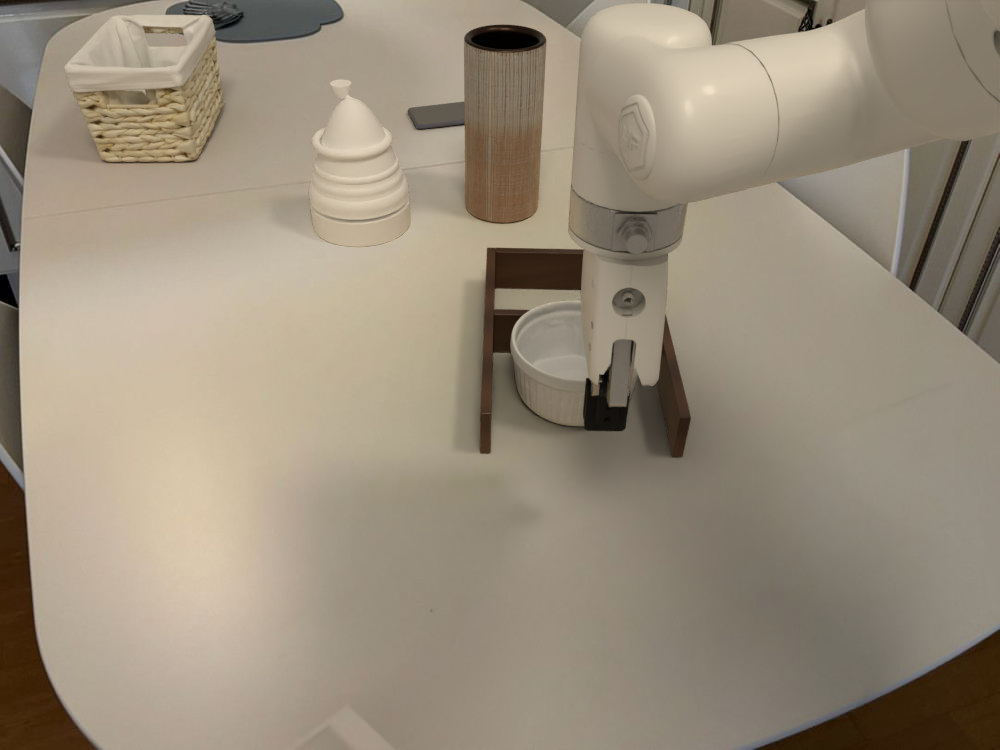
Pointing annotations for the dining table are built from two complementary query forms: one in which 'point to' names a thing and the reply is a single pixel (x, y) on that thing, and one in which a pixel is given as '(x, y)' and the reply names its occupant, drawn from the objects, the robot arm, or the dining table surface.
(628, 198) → the robot arm
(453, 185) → the dining table surface
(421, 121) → the smartphone
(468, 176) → the planter
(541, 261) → the frame
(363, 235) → the honey pot
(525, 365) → the ramekin
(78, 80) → the basket
